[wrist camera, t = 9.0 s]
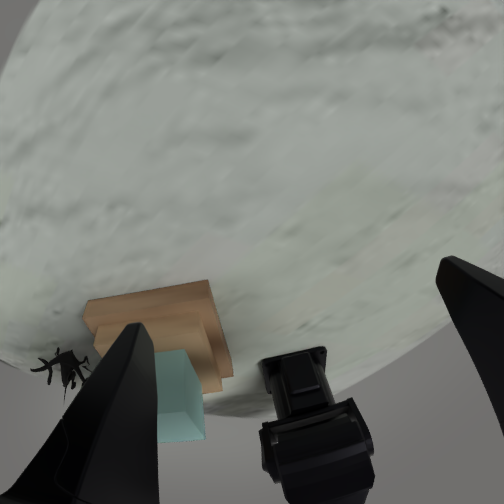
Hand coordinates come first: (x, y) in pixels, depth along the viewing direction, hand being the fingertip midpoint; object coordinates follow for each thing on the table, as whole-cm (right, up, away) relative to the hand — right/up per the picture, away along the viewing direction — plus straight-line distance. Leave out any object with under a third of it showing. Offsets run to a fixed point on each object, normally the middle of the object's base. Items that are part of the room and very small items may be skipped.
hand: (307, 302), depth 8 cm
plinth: (-9, -6, +17) cm, 20 cm away
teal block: (-8, -8, +13) cm, 18 cm away
